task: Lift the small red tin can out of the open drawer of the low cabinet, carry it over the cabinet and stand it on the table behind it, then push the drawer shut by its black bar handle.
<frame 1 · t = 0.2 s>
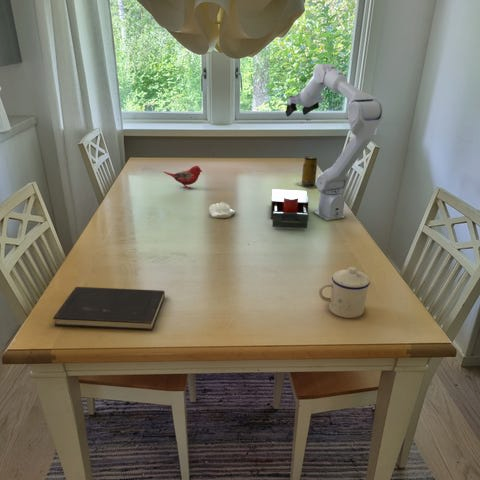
hand: (295, 113, 186), 32 cm above the table, tool tilted 50°, fingers open, 7 cm apart
white lumpy piece: (221, 214, 180), on the table
teacup with lid: (340, 310, 122), on the table
drawer: (289, 216, 170), point 3 cm above the table, slide at 9.0 cm, touching can
decorative bird figurine: (183, 188, 206), on the table
hardcover book: (112, 311, 119), on the table
condiment: (309, 185, 214), on the table
cabinet: (288, 213, 182), on the table
can: (289, 219, 172), point 2 cm above the table, touching drawer
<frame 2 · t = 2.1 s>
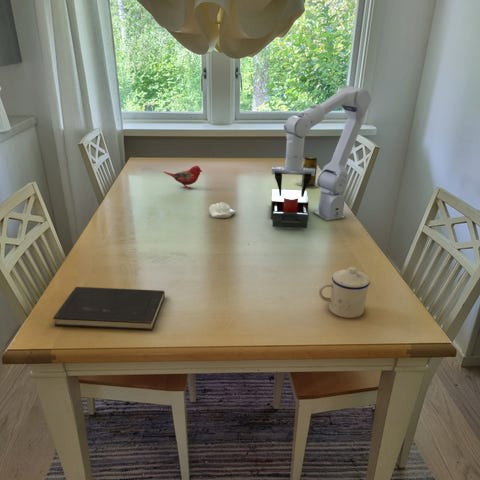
hand: (291, 195, 167), 10 cm above the table, tool pointing down, fingers open, 7 cm apart
nothing on the table moved.
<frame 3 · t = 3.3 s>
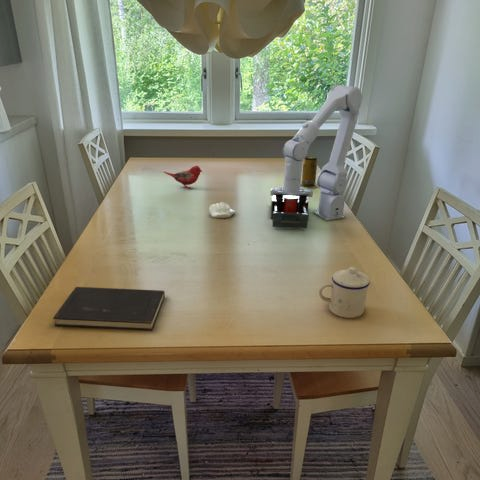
hand: (289, 215, 171), 3 cm above the table, tool pointing down, fingers open, 5 cm apart
nothing on the table moved.
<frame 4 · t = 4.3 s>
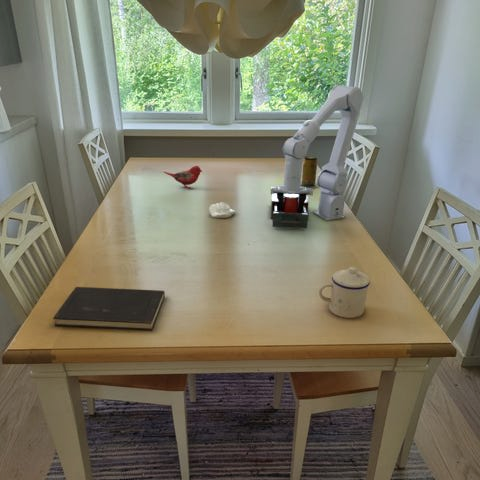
hand: (289, 214, 171), 4 cm above the table, tool pointing down, fingers closed on can, 5 cm apart
drawer: (289, 216, 170), point 3 cm above the table, slide at 9.0 cm
can: (289, 217, 171), point 2 cm above the table, touching gripper
everything else where it was.
when the fingers open (1 cm above the table, at t = 10.3 s): can stays where it is, on the table.
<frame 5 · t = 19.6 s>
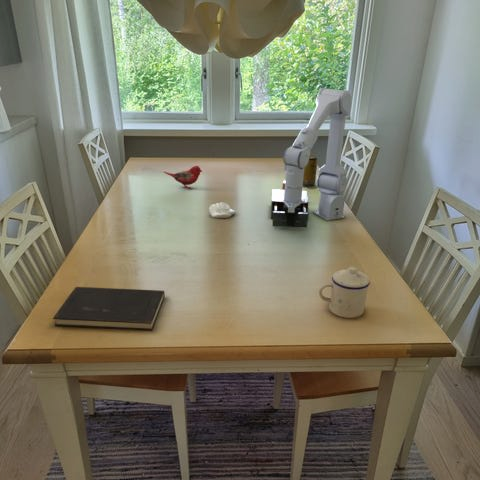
hand: (290, 226, 162), 3 cm above the table, tool pointing down, fingers closed
drawer: (289, 215, 170), point 3 cm above the table, slide at 8.5 cm, touching gripper
can: (287, 201, 194), on the table
everything else where it was.
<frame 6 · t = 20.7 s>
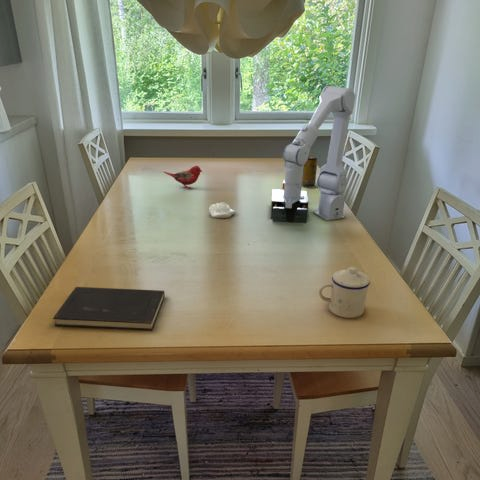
hand: (290, 221, 166), 3 cm above the table, tool pointing down, fingers closed
drawer: (289, 211, 174), point 3 cm above the table, slide at 4.0 cm, touching gripper
everything else where it was.
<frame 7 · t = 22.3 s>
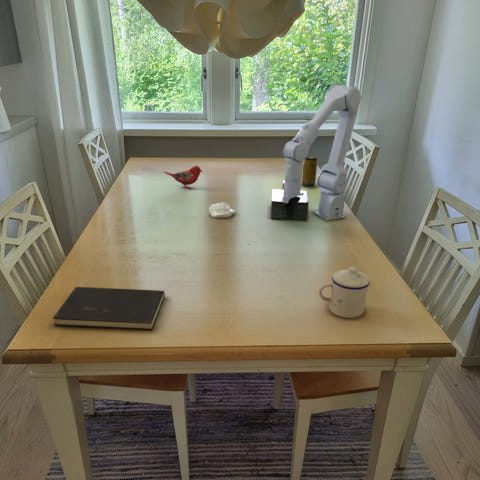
hand: (290, 217, 170), 3 cm above the table, tool pointing down, fingers closed, pressing on drawer
drawer: (289, 207, 177), point 3 cm above the table, slide at -0.2 cm, touching cabinet, gripper
everything else where it was.
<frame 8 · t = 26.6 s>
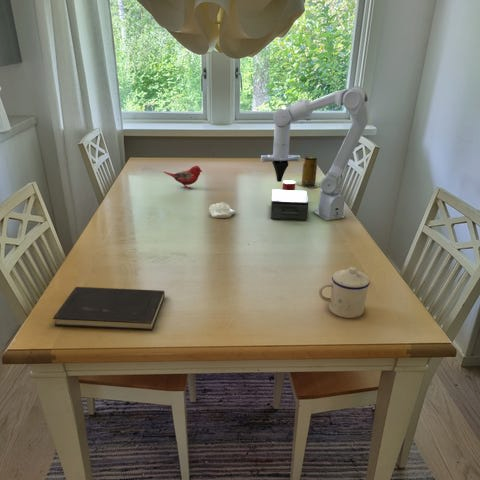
hand: (279, 181, 182), 10 cm above the table, tool pointing down, fingers closed
drawer: (289, 207, 177), point 3 cm above the table, slide at 0.0 cm, touching cabinet
everything else where it was.
at the end: can 0.1 cm from the target spot, on the table; can tilted 0°; drawer slide at 0.0 cm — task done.
